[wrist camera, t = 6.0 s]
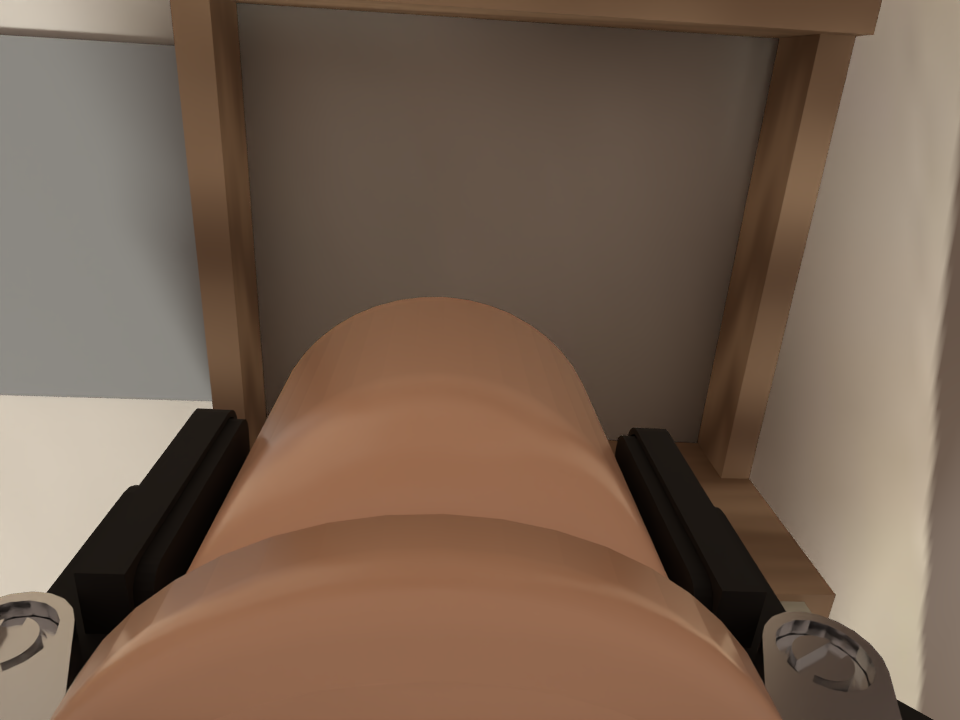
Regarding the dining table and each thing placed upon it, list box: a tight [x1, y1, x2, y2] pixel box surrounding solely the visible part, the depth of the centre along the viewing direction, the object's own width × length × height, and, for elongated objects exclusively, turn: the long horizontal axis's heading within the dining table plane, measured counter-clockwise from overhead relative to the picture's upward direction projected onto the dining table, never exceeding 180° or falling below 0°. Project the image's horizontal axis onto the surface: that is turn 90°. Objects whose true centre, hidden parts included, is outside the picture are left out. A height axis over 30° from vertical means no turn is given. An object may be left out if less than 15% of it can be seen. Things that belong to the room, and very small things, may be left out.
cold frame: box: [170, 0, 882, 618], centre depth 19 cm, size 19×22×18 cm
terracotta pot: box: [50, 297, 783, 720], centre depth 9 cm, size 7×7×8 cm
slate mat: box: [0, 35, 212, 401], centre depth 27 cm, size 14×10×1 cm
